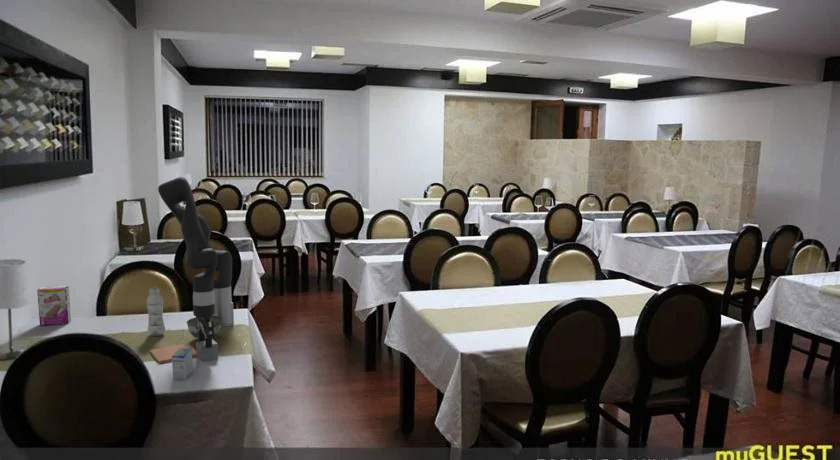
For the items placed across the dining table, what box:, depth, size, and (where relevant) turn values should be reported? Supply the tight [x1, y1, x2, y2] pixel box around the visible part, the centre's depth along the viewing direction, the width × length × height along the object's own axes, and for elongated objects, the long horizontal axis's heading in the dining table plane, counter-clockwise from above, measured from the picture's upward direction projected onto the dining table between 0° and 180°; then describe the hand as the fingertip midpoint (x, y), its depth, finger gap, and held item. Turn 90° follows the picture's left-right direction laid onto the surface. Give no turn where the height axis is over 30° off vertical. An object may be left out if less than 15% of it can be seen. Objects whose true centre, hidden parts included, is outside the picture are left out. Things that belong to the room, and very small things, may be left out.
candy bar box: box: [36, 285, 72, 327], centre depth 255 cm, size 11×5×16 cm, turn 108°
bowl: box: [186, 316, 222, 342], centre depth 238 cm, size 14×13×8 cm
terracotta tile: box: [149, 342, 197, 364], centre depth 221 cm, size 14×14×1 cm
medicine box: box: [171, 348, 194, 381], centre depth 200 cm, size 8×4×9 cm, turn 5°
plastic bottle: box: [145, 287, 166, 337], centre depth 241 cm, size 6×7×20 cm
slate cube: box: [195, 338, 219, 363], centre depth 217 cm, size 6×6×6 cm
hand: (205, 344), depth 217 cm, fingers open, 8 cm apart
